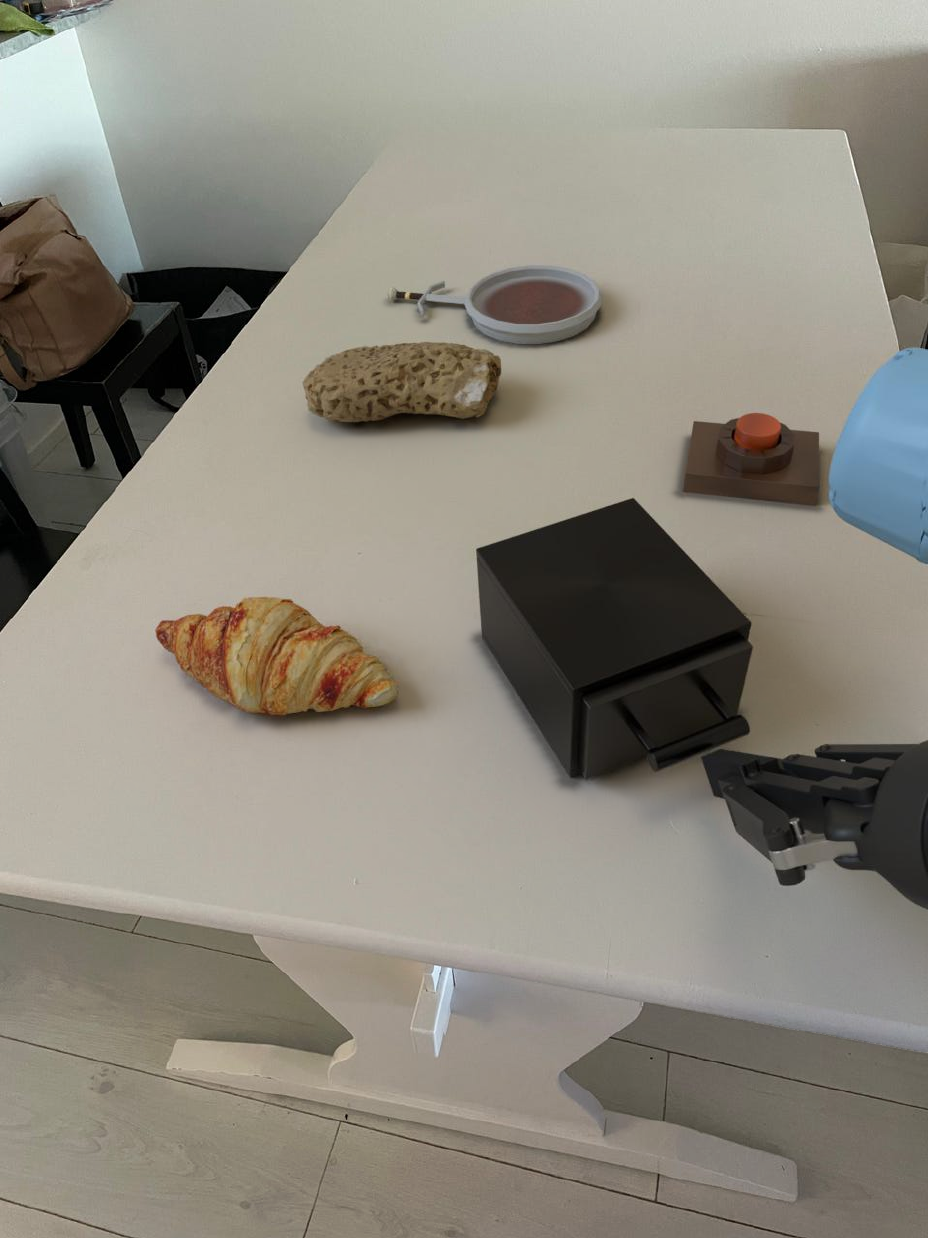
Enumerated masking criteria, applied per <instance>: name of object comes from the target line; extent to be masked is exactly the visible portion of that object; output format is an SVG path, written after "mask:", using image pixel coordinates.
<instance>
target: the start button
mask: <svg viewBox="0 0 928 1238" xmlns="http://www.w3.org/2000/svg"><path fill="white" fill-rule="evenodd" d="M738 418H739V419H738V421H737V424H736V430H735V435H734V440H735V443H736V444H737V445H739V446H742V447H744V448H746V449H749V450H759V451H763V450H768V449H773V448H774V447H775V446H776V445H777V443H778V439H779V434H780V430H781V424H780V423H781V422H780V421H779V419H777V418H776V417H774V416H773V415H770V414H766V413H763V412H762V413H761V412H751V413H746V414H743V415H741V416H740V417H738Z"/></svg>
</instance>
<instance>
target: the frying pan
mask: <svg viewBox="0 0 928 1238" xmlns="http://www.w3.org/2000/svg"><path fill="white" fill-rule="evenodd" d="M445 281H446V280H442V281H439V282H437V283H434V284H432V285H429V286H428V287H427V289H426V290H425V292H424V293H421V292H411V291H399V290H398V288H396V287H393V286H392V287H391V288H389V289H388V290H387V293H386V296H387V298H388V299H389V300H390V301H391V302H395V301H396V300H398V299H402V300H403V299H404V300H409V301H410V300H415V301H417V309H418V311H419V313H420V315H421V316H422V317H424V316H425V315H426V314H425V309H424V307H423V305H424V304H425V303H426V302H432V303H433V302H435V303H447V304H457V305H464V307H465V310H466V313H467V314H468V316H469V317H471V319H472V322H473V324H474V327H475V328H476V329H478V331H480V332H481V333H482V334H484V335H485V336H487V337H490V338H493V339H495V340H497V341H501V342H505V343H509V344H511V343H512V344H516V345H542V344H548V343H556V342H559V341H563V340H566V339H569V338H572V337H575V336H577V335H579V334H580V333H582V332H583V331H585V330H587V329H588V328H589V327H590V325H591V324H592V323H593V322H594V321H595V318H596V316H597V313H598V312H597V311H599V309H600V308H601V307H602V305H603V304H602V303H603V294H602V292H601V289H600V288H599V286H598V285H597V283H596V281H595V280H593V279H592V278H591V277H589V276H588V275H586V274H585V273H583V272H581V271H577V270H574V269H571V268H569V267H563V266H557V265H550V264H528V265H521V266H513V267H508V268H504V269H500V270H498V271H494V272H491V273H490V274H488V275H486V276H483V277H482V278H480V279H477V281H476V282H475V283H474V284H473V285H472V286H471V287H470V288H469V289H468V292H467V294H466V296H459V295H458V296H456V295H446V294H435V293H434V292H437V291H439V290H441V289H444V288H446V282H445Z"/></svg>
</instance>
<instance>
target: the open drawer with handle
mask: <svg viewBox="0 0 928 1238" xmlns="http://www.w3.org/2000/svg"><path fill="white" fill-rule="evenodd" d="M753 648H754V646H753V644H752V643H751V642H750V641H749V639H748V640H747V639H746V638H745V637H744V636H743V635H742V636H740V637H737V638H734V639H732V640H729V641H726V642H724V643H721V644H719V643H716V644H713V645H711V646H708V647H705V648H703V649H700V650H697V651H695V652H692V653H689V654H687V655H684V656H681V657H679V658H676V659H673V660H671V661H668V662H666V663H663V664H660V665H658V666H655V667H652V668H650V669H647V670H644V671H642V672H639V673H636V674H634V675H631V676H628V677H626V678H623V679H621V680H618V681H615V682H613V683H610V684H607V685H605V686H602V687H599V688H597V689H594V690H591V691H589V692H586V693H583V696H582V697H581V717H580V740H579V762H578V768H579V770H580V771H581V774H582V776H583V777H584V779H585V780H590V779H592V778H595V777H597V776H600V775H602V774H604V773H607V772H609V771H612V770H614V769H617V768H619V767H621V766H624V765H627V764H630V763H632V762H635V761H637V760H640V759H642V758H644V757H646V760H647V764H648V766H649V767H650V768H651V770H652V771H653V772H654V773H657V772H660V771H662V770H665V769H667V768H670V767H673V766H675V765H677V764H679V763H682V762H685V761H687V760H689V759H692V758H694V757H697V756H699V755H701V754H705V753H707V752H709V751H711V750H714V749H717V748H719V747H722V746H724V745H726V744H729V743H731V742H734V741H736V740H738V739H741V738H743V737H745V736H748V735H750V733H751V727H750V724H749V722H748V720H747V718H746V717H745V716H744V715H742V714H738V713H739V709H740V704H741V700H742V697H743V692H744V688H745V683H746V680H747V675H748V671H749V666H750V661H751V657H752V653H753Z"/></svg>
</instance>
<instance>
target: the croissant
mask: <svg viewBox="0 0 928 1238" xmlns="http://www.w3.org/2000/svg"><path fill="white" fill-rule="evenodd" d="M154 631H155V637H156V639H157V641H158V642H159V643H160V645H161V646H162V647H163V648H164V649H165V650H166V651H168V652H170V653H172V654H173V655H174V658H175V660H176V662H177V664H178V665H179V668H180V670H181V671H182V672H183V673H185V674H187V675H188V676H189V677H190V678H191V679H192V680H195V681H196V682H197V683H199V684H200V685H201V686H202V687H203V688H204V689H207V691H208V693H209V694H211V695H213V697H215V698H218V699H220V700H223V701H225V702H227V703H230V704H231V705H233V706H234V707H236V708H237V709H238V710H241V711H243V712H245V713H256V714H257V713H259V714H266V715H270V716H285V715H288V714H295V713H301V712H307V711H308V710H309V709H310V710H314V711H315V712H317V713H321V712H332V711H334V710H338V709H341V708H345V709H346V708H349V707H351V705H352V706H355V707H360V708H362V709H367V708H374V707H375V708H376V707H381V706H385V705H387V704H389V703H391V702H392V701H394V700H395V699H397V697H398V695H399V685H398V683H397V682H395V681H394V680H393V679H394V678H393V676H392V675H391V674H390V673H388V668H387V667H386V666H385V665H384V664H383V663H382V661H380V659H379V658H378V657H376V656H373V655H372V656H371V655H370V654H368V653H367V652H365V650H364V648H363V646H362V645H361V644H360V642H359V641H358V639H357V638H356V637H355V636H354V635H352V634H349V632H348V631H346V630H344V629H342V627H341V626H340V625H329V626H325V625H323V624H322V623H321V622H320V621H318V619H316V618H315V616H313V614H311V612H309V610H307V609H306V608H305V607H303V606H301V605H298V604H297V603H295V602H294V601H293V600H292V599H291V598H280V597H275V596H270V597H269V596H257V597H256V596H255V597H254V596H253V597H251V596H250V597H244V598H243V599H242V600H241V601H240V602H237V604H236V605H235V607H232V606H227V605H226V606H225V605H224V606H223V605H222V606H219V607H217V608H214V609H213V610H212V611H211V612H210V613H209V614H208V615H204V614H201V613H195V614H187V615H184V616H182V617H180V618H178V619H176V620H169V619H166V620H165V619H164V620H161V621H160V622H159V623H158V625H157V626H156V628H155V630H154Z"/></svg>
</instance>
